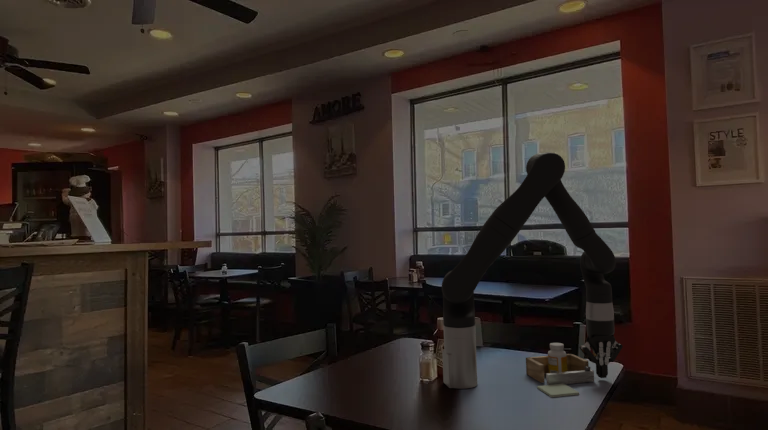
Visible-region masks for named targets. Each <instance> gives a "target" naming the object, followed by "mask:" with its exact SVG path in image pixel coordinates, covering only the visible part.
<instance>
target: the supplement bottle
mask: <svg viewBox="0 0 768 430" xmlns="http://www.w3.org/2000/svg"><path fill="white" fill-rule="evenodd" d="M564 346H565V345H564V343H561V342H550V343H549V349H550V350H548V352H547V356H548V368H549V373H558V372H568V371H567V354H568V353H566V351H565V350H564V349H565V347H564Z"/></svg>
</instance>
